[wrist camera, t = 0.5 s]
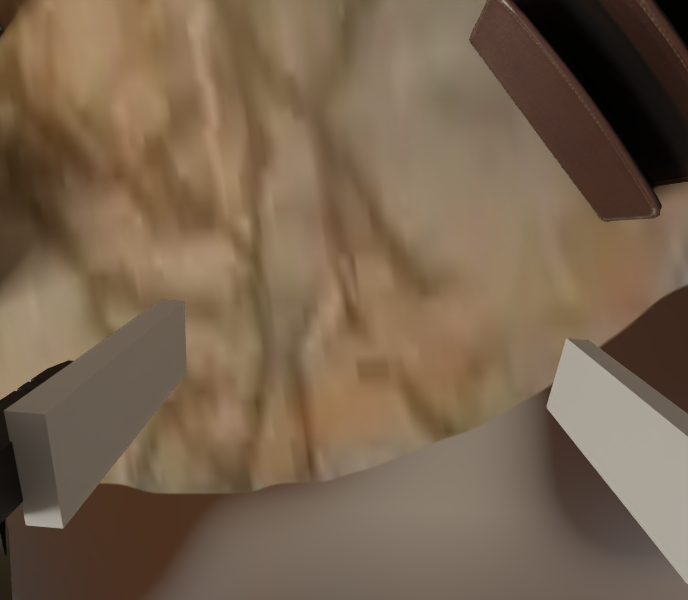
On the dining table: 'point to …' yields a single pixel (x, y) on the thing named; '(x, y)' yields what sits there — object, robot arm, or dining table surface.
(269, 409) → the dining table surface
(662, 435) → the robot arm
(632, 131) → the letter holder
